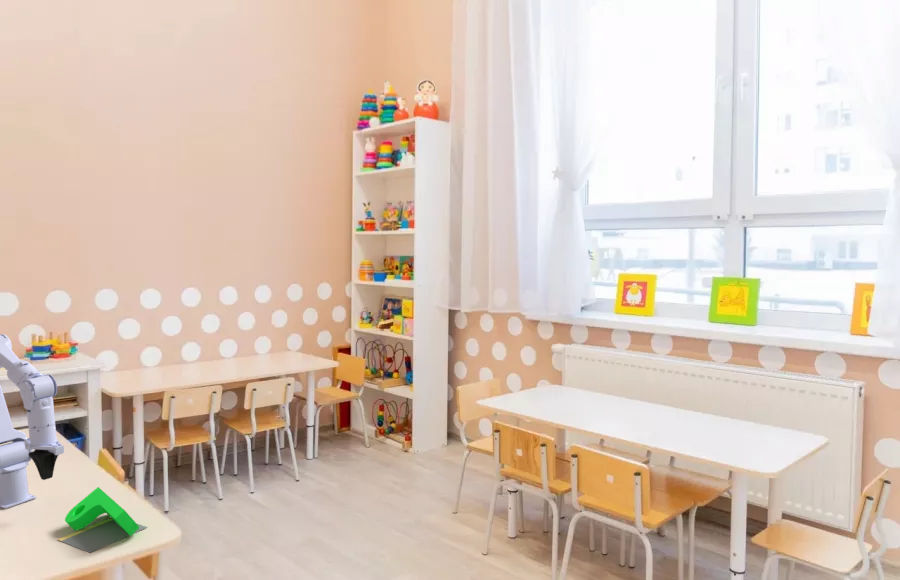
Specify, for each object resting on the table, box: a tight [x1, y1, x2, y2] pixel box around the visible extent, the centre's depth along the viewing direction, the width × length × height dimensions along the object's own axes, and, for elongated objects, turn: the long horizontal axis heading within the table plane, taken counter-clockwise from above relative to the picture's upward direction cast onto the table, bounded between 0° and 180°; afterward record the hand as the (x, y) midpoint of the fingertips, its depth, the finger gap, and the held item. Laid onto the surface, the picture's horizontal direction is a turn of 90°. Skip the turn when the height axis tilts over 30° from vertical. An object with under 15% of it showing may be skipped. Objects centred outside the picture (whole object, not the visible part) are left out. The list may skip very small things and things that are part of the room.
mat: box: [57, 517, 148, 554], centre depth 160 cm, size 13×14×1 cm
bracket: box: [64, 486, 140, 537], centre depth 161 cm, size 20×10×7 cm
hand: (46, 478), depth 171 cm, fingers closed
